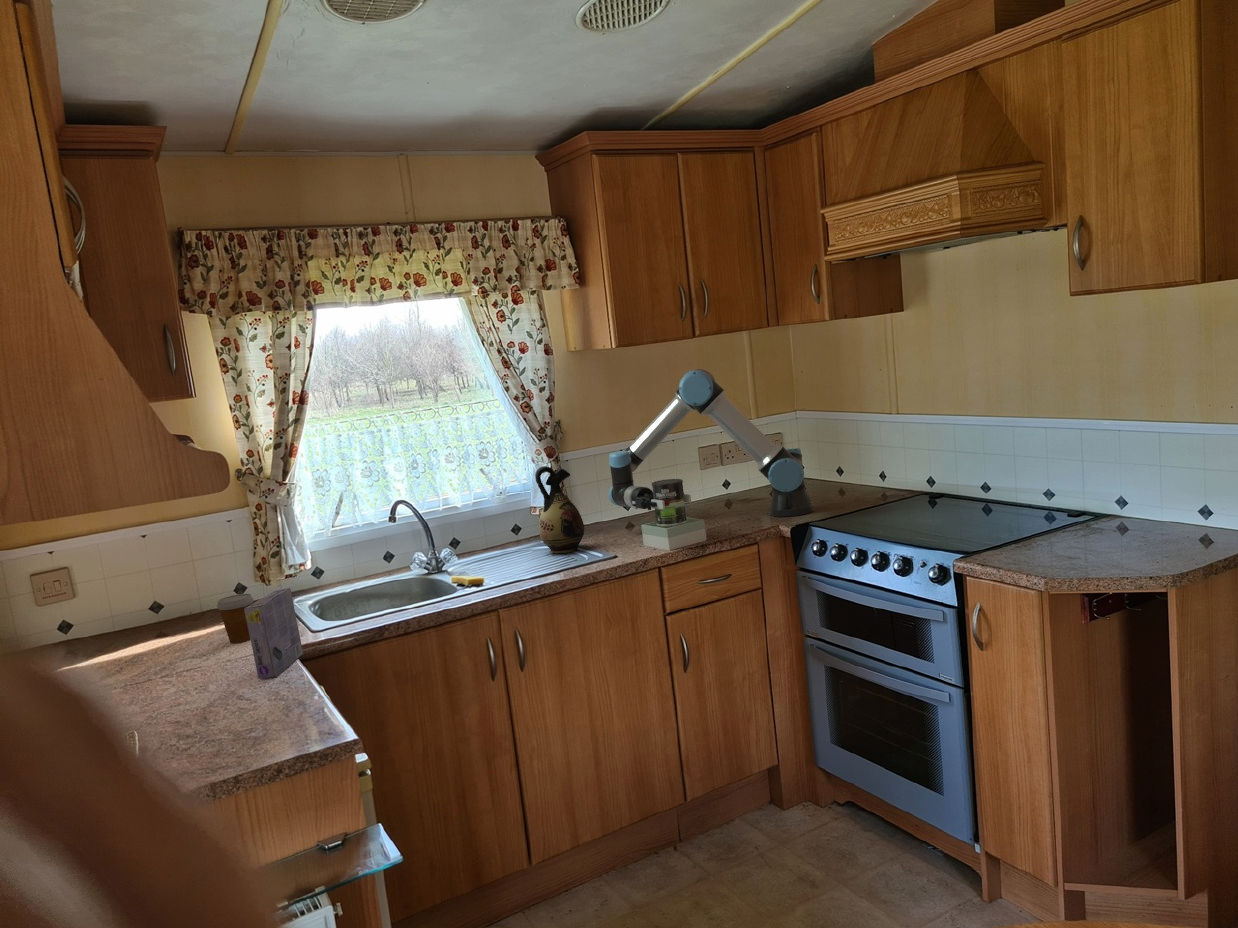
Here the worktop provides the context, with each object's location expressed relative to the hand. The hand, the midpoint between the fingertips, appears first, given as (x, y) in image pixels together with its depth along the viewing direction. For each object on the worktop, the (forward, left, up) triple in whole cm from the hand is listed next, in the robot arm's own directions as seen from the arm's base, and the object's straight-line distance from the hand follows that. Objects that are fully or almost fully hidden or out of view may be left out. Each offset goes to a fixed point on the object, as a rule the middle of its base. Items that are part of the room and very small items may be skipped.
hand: (676, 501), depth 310 cm
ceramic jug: (+27, -33, -14) cm, 45 cm away
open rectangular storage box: (0, -4, -14) cm, 15 cm away
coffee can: (0, -4, -8) cm, 9 cm away
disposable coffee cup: (+134, -24, -14) cm, 137 cm away
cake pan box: (+132, +14, -14) cm, 133 cm away
